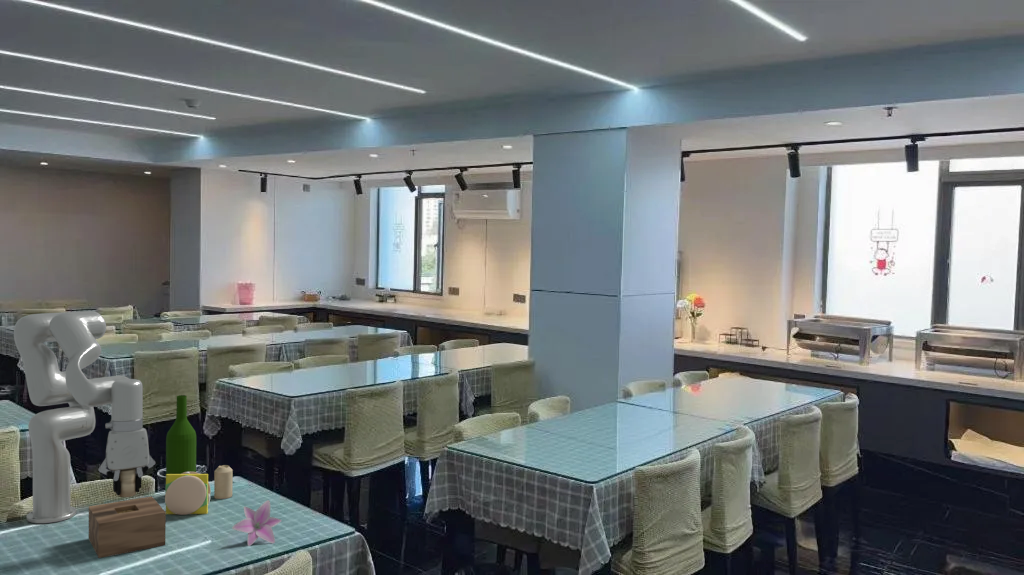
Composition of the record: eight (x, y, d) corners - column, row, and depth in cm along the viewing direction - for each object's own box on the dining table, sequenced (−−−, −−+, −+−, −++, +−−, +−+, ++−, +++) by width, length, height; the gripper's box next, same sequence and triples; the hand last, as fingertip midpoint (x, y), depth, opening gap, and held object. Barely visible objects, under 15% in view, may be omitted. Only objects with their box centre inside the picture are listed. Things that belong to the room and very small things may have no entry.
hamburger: (212, 507, 237) (213, 469, 236) (204, 516, 228) (205, 476, 228) (172, 507, 236) (172, 469, 235) (163, 516, 227) (163, 477, 227)
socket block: (88, 538, 209) (88, 506, 208) (151, 527, 218) (152, 496, 218) (98, 558, 196) (98, 523, 196) (165, 545, 206) (165, 512, 205)
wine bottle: (202, 494, 249) (202, 395, 248) (179, 501, 241) (180, 399, 239) (182, 489, 253) (182, 392, 251) (159, 497, 245) (160, 396, 243)
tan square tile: (116, 515, 207) (116, 512, 207) (133, 512, 210) (134, 509, 210) (119, 520, 204) (119, 516, 204) (137, 517, 206) (137, 513, 206)
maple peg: (117, 494, 207) (117, 468, 207) (134, 491, 209) (134, 466, 209) (120, 498, 204) (120, 472, 203) (137, 495, 206) (137, 469, 206)
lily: (225, 548, 207) (231, 523, 203) (241, 518, 218) (247, 493, 214) (267, 561, 208) (275, 536, 204) (281, 530, 219) (289, 506, 215)
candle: (226, 499, 244) (226, 469, 243) (210, 498, 245) (210, 467, 244) (235, 494, 249) (236, 464, 249) (220, 493, 250) (220, 463, 250)
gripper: (94, 432, 198) (95, 501, 198) (163, 424, 208) (163, 490, 209) (89, 426, 204) (90, 494, 204) (157, 419, 214) (157, 484, 215)
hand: (127, 491), depth 206 cm, fingers closed on maple peg, 4 cm apart
